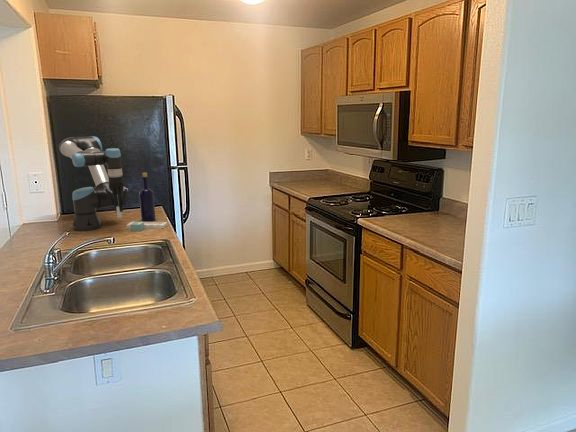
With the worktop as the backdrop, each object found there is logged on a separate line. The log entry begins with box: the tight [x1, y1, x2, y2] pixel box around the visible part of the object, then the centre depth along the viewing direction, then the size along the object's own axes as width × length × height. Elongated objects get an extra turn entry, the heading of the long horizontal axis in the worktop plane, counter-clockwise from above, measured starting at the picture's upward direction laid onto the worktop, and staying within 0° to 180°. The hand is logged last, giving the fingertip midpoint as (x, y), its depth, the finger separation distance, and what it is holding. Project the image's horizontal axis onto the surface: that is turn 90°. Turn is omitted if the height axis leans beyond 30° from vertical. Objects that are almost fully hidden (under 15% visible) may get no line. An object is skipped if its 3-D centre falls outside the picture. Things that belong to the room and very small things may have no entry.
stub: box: [130, 221, 144, 232], centre depth 247 cm, size 6×5×4 cm
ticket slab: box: [125, 221, 169, 230], centre depth 254 cm, size 22×8×2 cm, turn 87°
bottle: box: [138, 172, 157, 222], centre depth 266 cm, size 9×9×30 cm
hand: (119, 217), depth 246 cm, fingers closed
